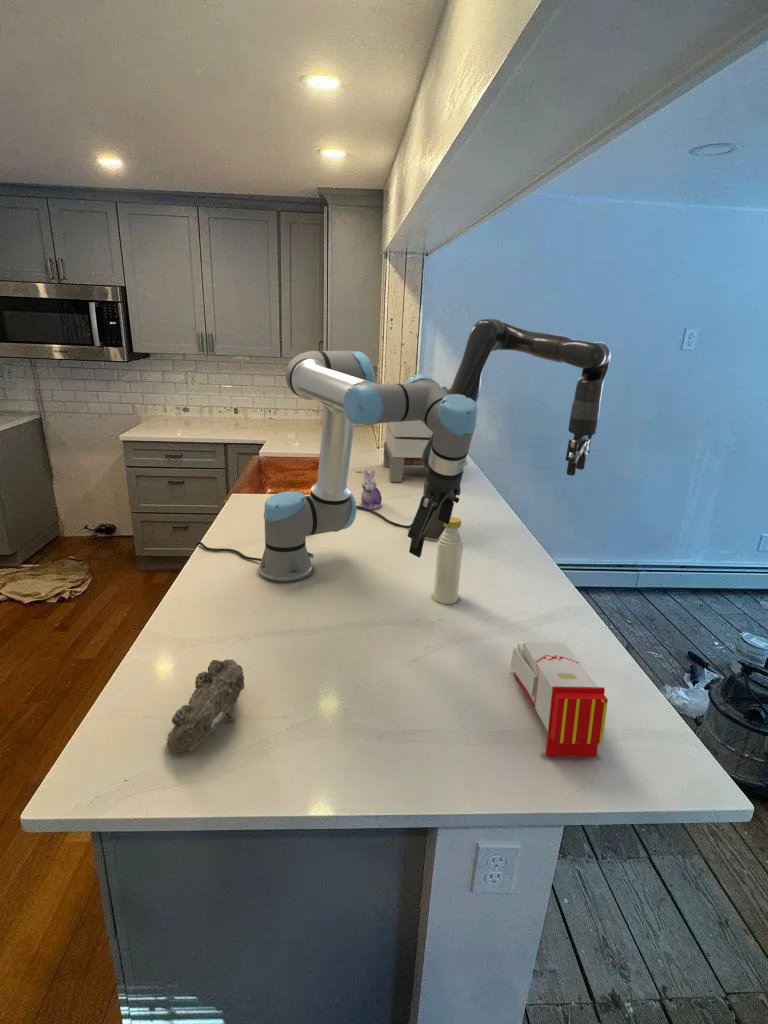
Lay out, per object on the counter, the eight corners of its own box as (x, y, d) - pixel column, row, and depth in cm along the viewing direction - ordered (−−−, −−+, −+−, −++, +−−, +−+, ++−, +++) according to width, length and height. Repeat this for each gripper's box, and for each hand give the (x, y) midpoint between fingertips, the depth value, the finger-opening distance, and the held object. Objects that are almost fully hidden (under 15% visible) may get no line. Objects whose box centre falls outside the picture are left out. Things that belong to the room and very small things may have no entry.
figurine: (365, 511, 219) (366, 474, 214) (354, 503, 228) (355, 467, 223) (387, 509, 223) (388, 472, 218) (375, 501, 232) (377, 465, 227)
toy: (559, 625, 127) (617, 695, 97) (554, 680, 130) (608, 764, 100) (506, 624, 126) (547, 694, 97) (501, 679, 129) (540, 763, 100)
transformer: (382, 463, 289) (386, 382, 275) (445, 464, 293) (451, 384, 279) (390, 482, 257) (394, 392, 243) (460, 483, 261) (468, 394, 247)
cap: (459, 522, 152) (459, 516, 151) (461, 529, 148) (462, 522, 147) (442, 522, 152) (443, 516, 151) (444, 528, 147) (445, 522, 147)
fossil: (192, 660, 117) (244, 628, 112) (224, 691, 120) (276, 661, 115) (142, 746, 98) (202, 712, 93) (182, 779, 101) (242, 748, 96)
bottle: (455, 592, 160) (463, 516, 152) (459, 604, 154) (467, 525, 146) (432, 591, 160) (438, 516, 152) (434, 603, 154) (441, 525, 146)
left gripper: (432, 505, 109) (416, 577, 123) (487, 446, 125) (467, 515, 139) (399, 488, 111) (387, 560, 126) (457, 432, 127) (441, 502, 142)
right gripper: (578, 411, 166) (570, 465, 172) (562, 417, 155) (554, 474, 161) (605, 415, 162) (595, 469, 168) (590, 421, 151) (580, 479, 157)
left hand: (429, 537), depth 132 cm, fingers open, 13 cm apart
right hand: (575, 472), depth 164 cm, fingers open, 8 cm apart
